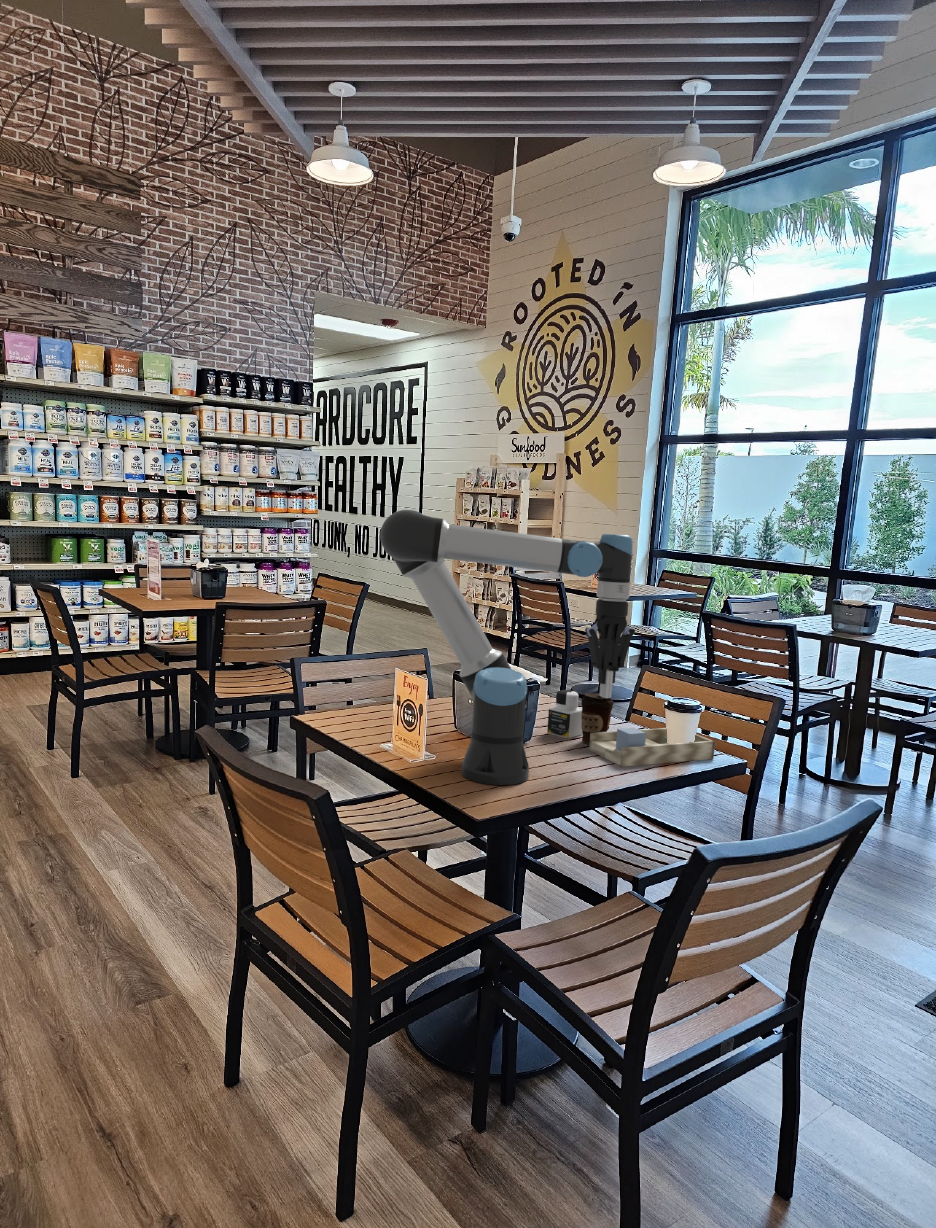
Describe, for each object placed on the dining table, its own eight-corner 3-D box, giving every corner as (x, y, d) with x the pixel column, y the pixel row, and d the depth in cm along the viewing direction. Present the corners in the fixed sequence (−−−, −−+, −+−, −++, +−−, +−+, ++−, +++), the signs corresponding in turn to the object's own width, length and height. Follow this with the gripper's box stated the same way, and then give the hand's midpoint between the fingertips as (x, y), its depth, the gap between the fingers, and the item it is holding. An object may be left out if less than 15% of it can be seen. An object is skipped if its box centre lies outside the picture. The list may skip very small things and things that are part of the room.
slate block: (627, 754, 193) (629, 734, 192) (615, 748, 197) (617, 728, 197) (644, 752, 195) (646, 732, 194) (632, 747, 199) (633, 727, 199)
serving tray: (622, 766, 190) (623, 748, 190) (589, 750, 204) (590, 732, 203) (713, 758, 202) (715, 741, 201) (676, 743, 215) (678, 727, 214)
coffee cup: (600, 749, 205) (603, 700, 203) (572, 742, 210) (575, 694, 208) (615, 743, 212) (619, 695, 210) (587, 737, 216) (591, 690, 215)
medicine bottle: (546, 733, 218) (549, 690, 217) (561, 729, 223) (564, 687, 222) (568, 739, 213) (571, 695, 212) (582, 734, 219) (585, 692, 217)
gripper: (597, 600, 182) (590, 701, 185) (644, 601, 188) (637, 699, 190) (580, 597, 189) (573, 694, 192) (626, 598, 194) (619, 692, 197)
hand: (605, 696), depth 191 cm, fingers closed
